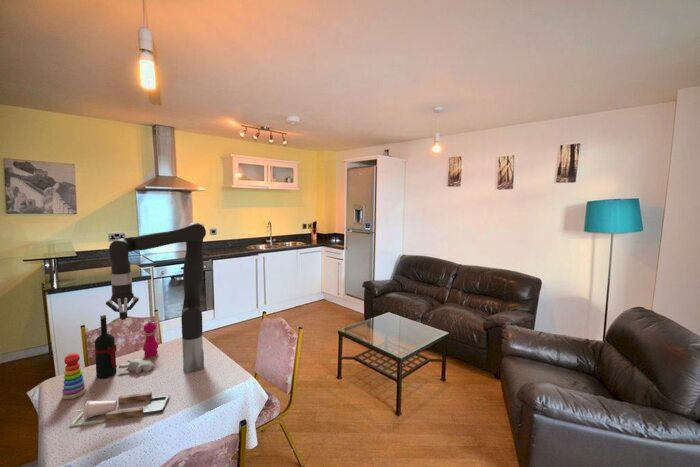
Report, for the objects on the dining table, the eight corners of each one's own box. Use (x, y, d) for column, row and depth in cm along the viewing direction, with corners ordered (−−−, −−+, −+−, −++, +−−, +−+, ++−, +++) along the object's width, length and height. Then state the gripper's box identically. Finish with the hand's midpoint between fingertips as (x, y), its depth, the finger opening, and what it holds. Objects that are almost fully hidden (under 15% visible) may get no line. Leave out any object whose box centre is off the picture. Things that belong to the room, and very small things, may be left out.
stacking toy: (90, 391, 140) (87, 351, 139) (69, 402, 133) (66, 359, 131) (78, 387, 143) (76, 348, 141) (57, 398, 135) (54, 356, 134)
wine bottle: (107, 381, 149) (104, 320, 146) (92, 377, 152) (88, 317, 149) (123, 372, 156) (120, 314, 153) (108, 369, 159) (105, 312, 156)
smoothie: (112, 415, 123) (67, 421, 118) (116, 414, 128) (73, 420, 123) (115, 396, 126) (71, 402, 120) (119, 396, 131) (77, 402, 126)
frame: (117, 403, 133) (117, 401, 133) (103, 422, 121) (103, 420, 121) (86, 407, 130) (86, 405, 130) (69, 427, 118) (69, 425, 118)
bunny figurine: (145, 368, 154) (116, 363, 154) (144, 377, 154) (115, 372, 155) (158, 358, 163) (131, 354, 164) (157, 367, 163) (130, 363, 164)
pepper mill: (142, 359, 170) (140, 323, 168) (144, 353, 176) (142, 319, 174) (158, 356, 173) (156, 321, 171) (159, 350, 179) (157, 317, 178)
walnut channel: (152, 398, 136) (151, 392, 136) (141, 416, 125) (141, 409, 124) (120, 402, 133) (119, 396, 133) (106, 421, 121) (106, 414, 121)
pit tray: (169, 397, 137) (169, 395, 137) (162, 412, 127) (162, 409, 127) (151, 400, 135) (151, 397, 135) (142, 415, 125) (142, 412, 125)
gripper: (102, 286, 136) (104, 324, 138) (139, 282, 143) (140, 319, 145) (104, 282, 142) (106, 319, 144) (139, 279, 150) (140, 314, 151)
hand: (123, 319), depth 145 cm, fingers closed
